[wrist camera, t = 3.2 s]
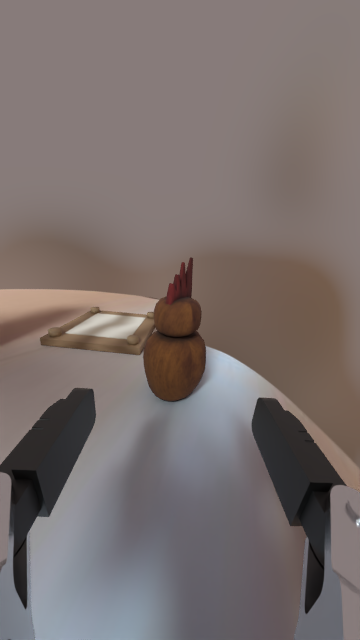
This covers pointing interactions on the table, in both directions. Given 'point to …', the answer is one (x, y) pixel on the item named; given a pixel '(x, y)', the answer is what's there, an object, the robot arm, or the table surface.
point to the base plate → (104, 332)
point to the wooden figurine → (176, 342)
